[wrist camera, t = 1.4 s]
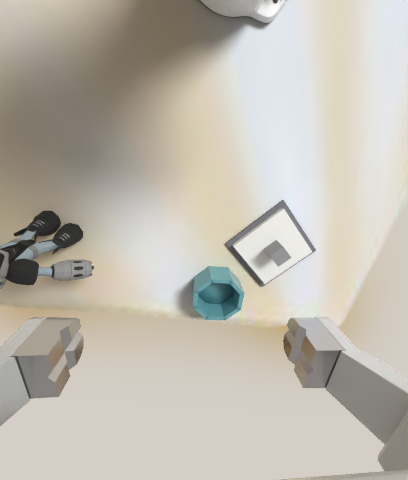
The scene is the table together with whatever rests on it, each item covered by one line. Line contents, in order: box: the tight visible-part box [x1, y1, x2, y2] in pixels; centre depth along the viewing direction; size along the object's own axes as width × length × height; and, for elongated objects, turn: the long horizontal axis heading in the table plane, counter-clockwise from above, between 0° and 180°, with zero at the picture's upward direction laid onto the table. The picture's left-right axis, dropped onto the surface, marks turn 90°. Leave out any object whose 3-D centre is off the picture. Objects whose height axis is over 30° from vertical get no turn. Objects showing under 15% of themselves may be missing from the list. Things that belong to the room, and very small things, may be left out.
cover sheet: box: [232, 208, 312, 284], centre depth 41 cm, size 12×12×4 cm
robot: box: [0, 211, 94, 289], centre depth 30 cm, size 20×5×20 cm, turn 55°
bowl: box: [192, 266, 244, 320], centre depth 44 cm, size 10×10×5 cm
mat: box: [225, 200, 316, 287], centre depth 43 cm, size 14×14×1 cm
